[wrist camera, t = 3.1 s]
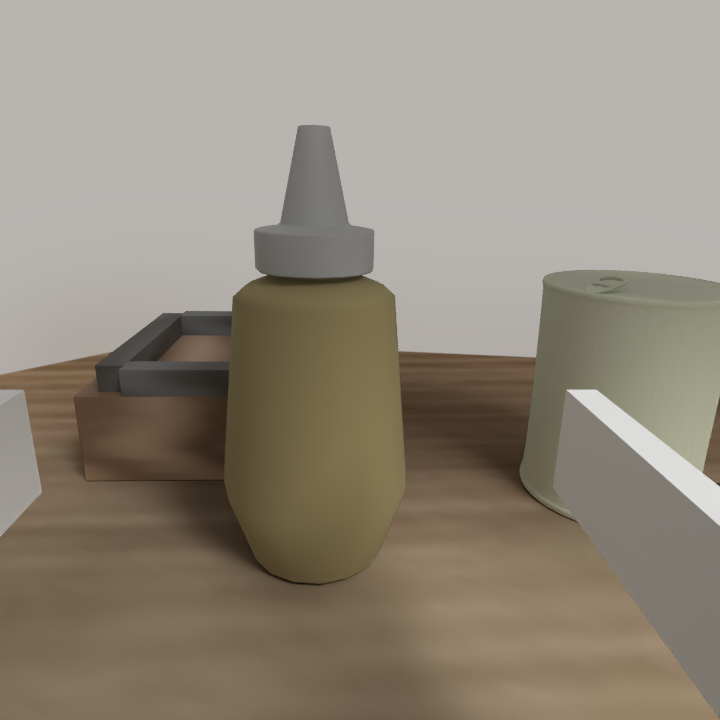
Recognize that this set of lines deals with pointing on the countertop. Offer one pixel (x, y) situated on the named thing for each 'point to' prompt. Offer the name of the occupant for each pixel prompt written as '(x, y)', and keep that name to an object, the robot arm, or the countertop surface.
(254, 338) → the squeeze bottle
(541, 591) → the countertop surface
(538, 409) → the can
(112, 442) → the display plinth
